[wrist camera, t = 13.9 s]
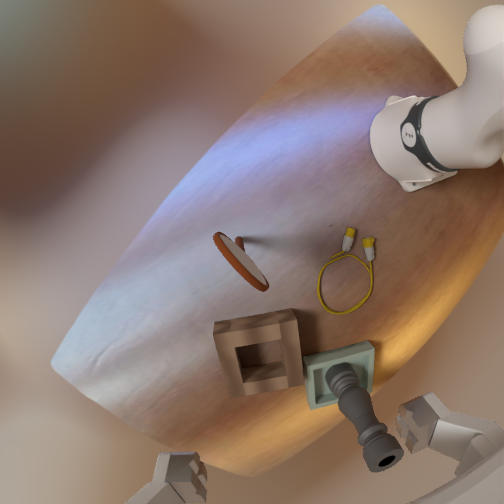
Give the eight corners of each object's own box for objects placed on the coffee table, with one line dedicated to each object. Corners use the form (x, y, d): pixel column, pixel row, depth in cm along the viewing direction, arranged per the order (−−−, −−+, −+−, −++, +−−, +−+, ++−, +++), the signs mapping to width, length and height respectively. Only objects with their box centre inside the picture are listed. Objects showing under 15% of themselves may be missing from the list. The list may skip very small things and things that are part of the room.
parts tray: (367, 340, 54) (374, 348, 51) (366, 383, 57) (372, 392, 53) (302, 356, 54) (306, 366, 50) (306, 399, 56) (310, 410, 53)
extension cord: (393, 257, 51) (398, 260, 49) (345, 322, 53) (348, 326, 52) (350, 219, 49) (355, 220, 47) (298, 290, 51) (300, 294, 49)
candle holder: (347, 356, 54) (403, 441, 29) (356, 376, 55) (407, 458, 30) (320, 371, 54) (363, 463, 29) (330, 390, 55) (371, 477, 31)
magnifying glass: (217, 223, 48) (206, 246, 28) (224, 216, 47) (218, 233, 28) (252, 261, 49) (265, 306, 30) (260, 254, 49) (277, 295, 30)
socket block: (291, 308, 51) (296, 319, 47) (298, 369, 54) (304, 384, 50) (214, 322, 51) (213, 335, 46) (230, 382, 54) (230, 397, 49)
